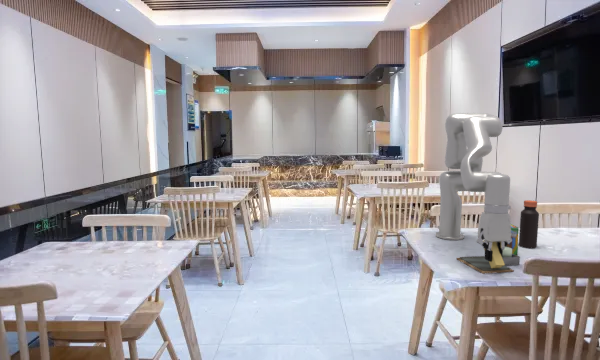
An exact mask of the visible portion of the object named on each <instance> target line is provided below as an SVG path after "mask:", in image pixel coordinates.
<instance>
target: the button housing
mask: <svg viewBox="0 0 600 360" xmlns="http://www.w3.org/2000/svg"><path fill="white" fill-rule="evenodd" d="M502 259H503V261H504V264H505V266H507V267H508V266H520V262H521V261H520V256H519V255H514V254H512V257H502Z"/></svg>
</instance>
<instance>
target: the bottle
mask: <svg viewBox="0 0 600 360" xmlns="http://www.w3.org/2000/svg"><path fill="white" fill-rule="evenodd" d="M523 207H524V208H523V209H522V210H521V211H520V221H519V232H518V247H521V248H525V249H536V248H537V247H538V236H539V235H538V234H539V222H540V221H539V219H540V214H539V212H538V210H537V207H538V201H536V200H529V199H528V200H523Z"/></svg>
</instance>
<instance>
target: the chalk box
mask: <svg viewBox="0 0 600 360" xmlns="http://www.w3.org/2000/svg"><path fill="white" fill-rule="evenodd" d="M519 232H520V227H518V226H516V225H515V224H512V223H511V239H512V242H510V243H509V244H507V245H506V247H509V248H512V254H514V255H516V256H519V253H518V252H519Z"/></svg>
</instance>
